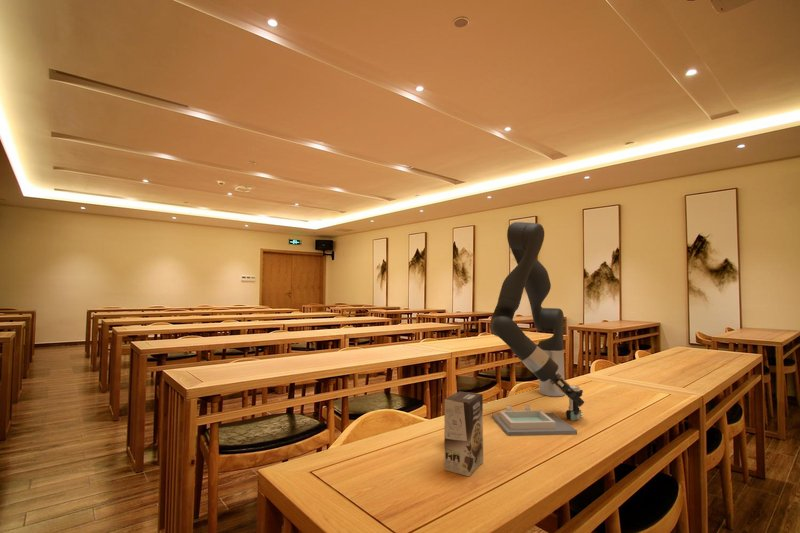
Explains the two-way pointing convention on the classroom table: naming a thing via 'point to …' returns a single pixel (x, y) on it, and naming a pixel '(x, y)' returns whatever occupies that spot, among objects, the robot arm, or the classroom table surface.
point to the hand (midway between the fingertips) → (577, 400)
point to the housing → (531, 422)
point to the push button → (574, 405)
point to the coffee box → (463, 432)
